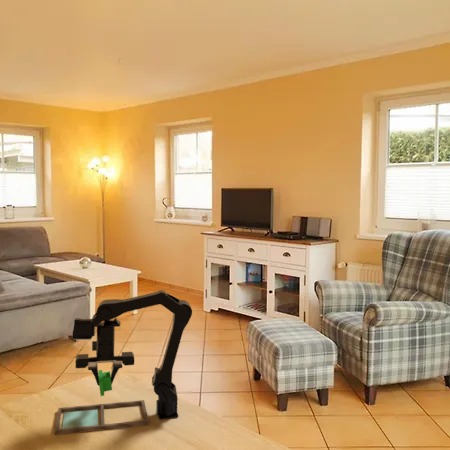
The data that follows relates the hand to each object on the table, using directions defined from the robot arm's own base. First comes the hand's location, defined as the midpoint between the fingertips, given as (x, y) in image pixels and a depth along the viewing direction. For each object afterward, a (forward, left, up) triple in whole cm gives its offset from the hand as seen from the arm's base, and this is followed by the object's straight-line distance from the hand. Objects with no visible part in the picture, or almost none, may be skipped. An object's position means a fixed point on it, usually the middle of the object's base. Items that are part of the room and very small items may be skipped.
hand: (104, 384), depth 160 cm
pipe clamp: (0, -1, -2) cm, 2 cm away
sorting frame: (+1, 0, -11) cm, 11 cm away
